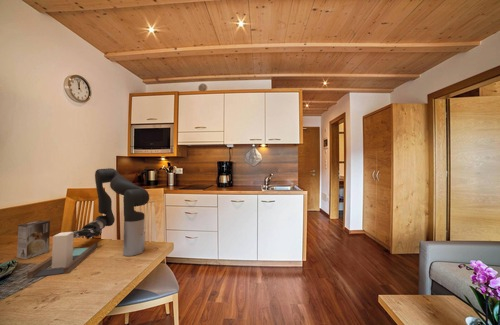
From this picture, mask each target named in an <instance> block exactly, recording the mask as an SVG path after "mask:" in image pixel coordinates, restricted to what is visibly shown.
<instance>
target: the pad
mask: <svg viewBox="0 0 500 325" xmlns="http://www.w3.org/2000/svg"><path fill="white" fill-rule="evenodd" d="M89 247H90V246H89ZM89 247H80V248H79V247H78V248H73V256H79V255H80V254H82V253H83V252H84V251H85V250H87V249H88V248H89Z"/></svg>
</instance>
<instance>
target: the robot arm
mask: <svg viewBox="0 0 500 325" xmlns="http://www.w3.org/2000/svg"><path fill="white" fill-rule="evenodd" d="M94 180H95V188H96V194H97V199H98V200H97V201H98V206H97V207H98V211H97V212H98V213H99V214H101V215H98V216H96V218H95V219H94V220H93V221H90V222H88V223H87V224H85V225H84V226H83V227H82V228H81V229H79V230H75V229H74V230H72V231H70V232H74V234H73V239H77V238H82V237H86V240H90V239H91V238H94V237H99V236H100V235H101V234H102V232H103V229H104V228H106V227H111V226H113V225H114V223H115V215H114V212H113V209H112V207H113V206H112V204H113V203H112V197H110V195H109V194H108V192H106V190H105V188H104V186H103V184H105V183H110V184H109V187H110V189H111V190H112V191H113V192H114V193H116V194H118V195H120V196H123V197H122V198H123V203H122V204H123V218H124V219H123V242H122V245H123V246H122V255H123V256H125V257H132V256H137V255H141V254H143V252H144V251H145V246H146V244H145V243H146V232H145V213H144V212H141V211H136V210H135V207H140V206H141V207H142V206H144V205H147V204H148V203H149V201H150V194H149V192H148V191H147V190H146V189H145V188H144V187H141V186H138V185H136V184H135V183H133V182H132V181H131V180H129V179H127V177H124V176H123V175H122V174H120V173H119V171H118V170H116V169H115V168H109V167H107V168H98V169H96V170H95V172H94Z"/></svg>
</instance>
